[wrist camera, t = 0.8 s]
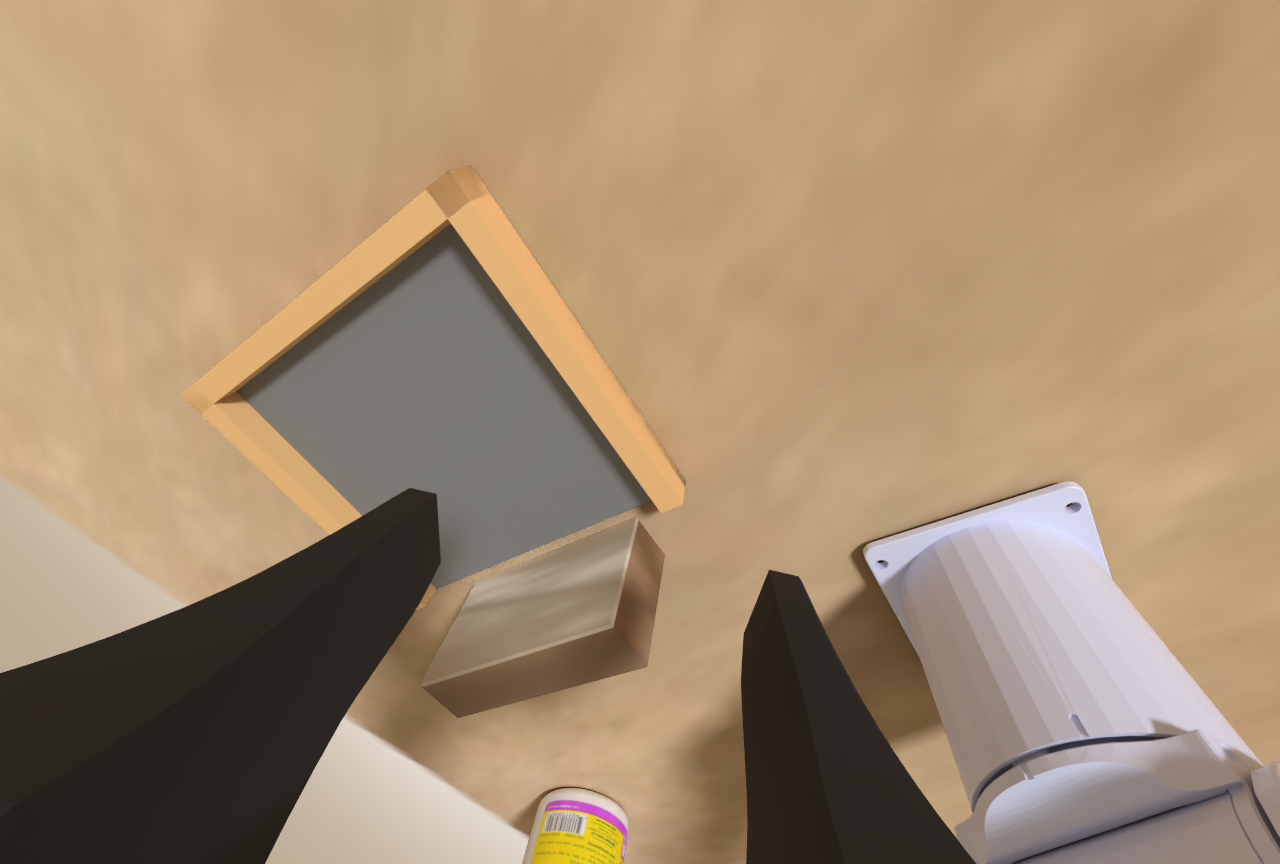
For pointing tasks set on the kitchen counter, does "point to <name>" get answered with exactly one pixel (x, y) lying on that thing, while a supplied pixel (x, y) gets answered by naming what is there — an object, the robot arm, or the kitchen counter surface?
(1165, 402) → the kitchen counter surface
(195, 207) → the kitchen counter surface
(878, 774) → the robot arm
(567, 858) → the supplement bottle
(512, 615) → the slab
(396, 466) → the chalkboard
